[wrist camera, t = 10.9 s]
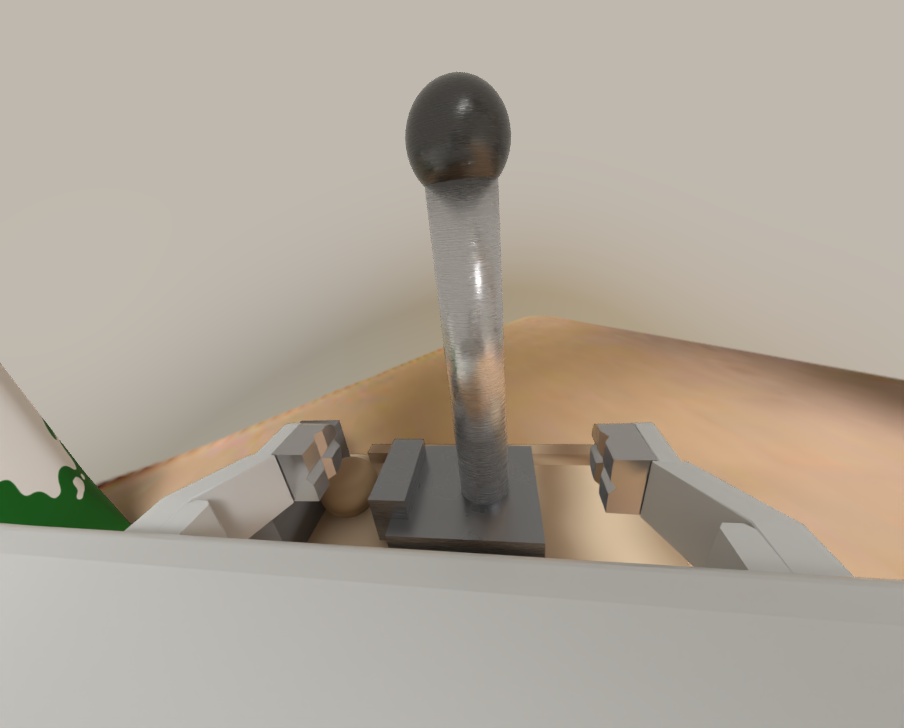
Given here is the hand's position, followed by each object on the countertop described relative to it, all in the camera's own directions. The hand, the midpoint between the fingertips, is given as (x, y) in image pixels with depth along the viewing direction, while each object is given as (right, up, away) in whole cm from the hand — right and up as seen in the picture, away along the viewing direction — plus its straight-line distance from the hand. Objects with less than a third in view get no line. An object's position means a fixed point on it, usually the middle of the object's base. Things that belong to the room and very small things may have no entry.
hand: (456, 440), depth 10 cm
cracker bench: (0, -8, +11) cm, 13 cm away
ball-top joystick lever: (0, -6, +10) cm, 12 cm away
